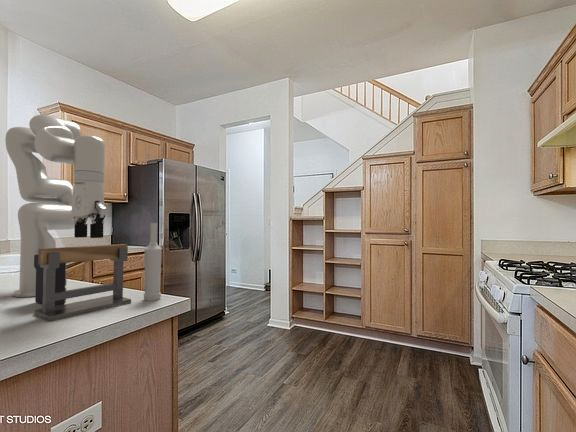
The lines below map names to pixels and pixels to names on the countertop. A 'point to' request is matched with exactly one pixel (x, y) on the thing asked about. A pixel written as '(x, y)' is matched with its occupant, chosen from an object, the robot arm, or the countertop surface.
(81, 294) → the hook stand
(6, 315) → the countertop surface
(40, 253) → the rail
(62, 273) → the black notched bar
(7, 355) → the countertop surface
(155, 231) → the bottle
